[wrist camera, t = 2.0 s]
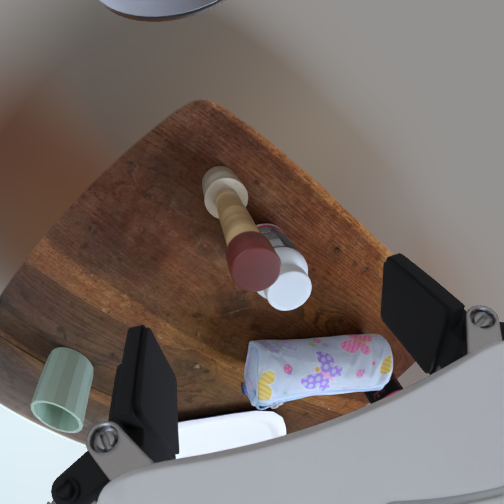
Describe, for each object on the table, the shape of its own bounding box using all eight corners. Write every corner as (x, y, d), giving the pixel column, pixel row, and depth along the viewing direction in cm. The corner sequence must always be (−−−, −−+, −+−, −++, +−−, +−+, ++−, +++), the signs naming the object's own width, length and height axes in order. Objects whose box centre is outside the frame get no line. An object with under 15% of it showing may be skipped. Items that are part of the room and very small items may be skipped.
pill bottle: (293, 252, 35) (326, 299, 26) (252, 273, 35) (273, 327, 26) (275, 213, 32) (307, 252, 24) (230, 236, 33) (247, 284, 24)
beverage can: (359, 378, 49) (395, 440, 36) (389, 361, 49) (429, 419, 36) (362, 394, 53) (395, 451, 39) (390, 378, 52) (426, 432, 39)
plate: (138, 418, 44) (138, 426, 42) (282, 395, 47) (284, 403, 45) (180, 470, 55) (180, 476, 54) (285, 452, 58) (287, 458, 57)
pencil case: (235, 371, 42) (247, 424, 34) (241, 327, 38) (256, 382, 30) (358, 359, 47) (383, 399, 38) (376, 318, 43) (408, 359, 35)
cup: (40, 350, 34) (20, 401, 25) (77, 343, 35) (60, 399, 26) (65, 383, 38) (52, 432, 29) (102, 378, 38) (92, 432, 29)
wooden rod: (198, 170, 29) (208, 246, 13) (233, 162, 29) (288, 225, 13) (206, 204, 31) (227, 311, 15) (240, 195, 31) (298, 291, 15)
